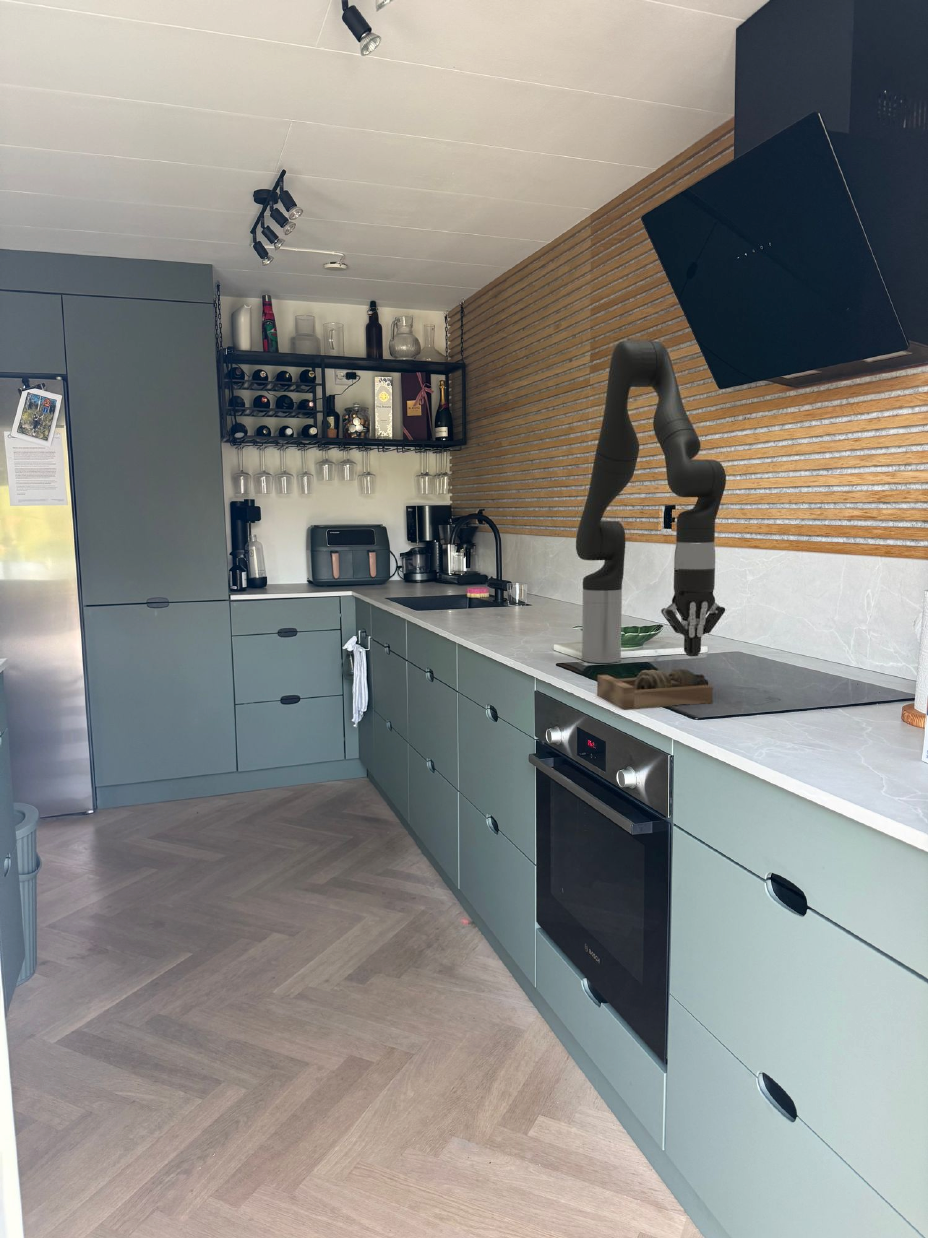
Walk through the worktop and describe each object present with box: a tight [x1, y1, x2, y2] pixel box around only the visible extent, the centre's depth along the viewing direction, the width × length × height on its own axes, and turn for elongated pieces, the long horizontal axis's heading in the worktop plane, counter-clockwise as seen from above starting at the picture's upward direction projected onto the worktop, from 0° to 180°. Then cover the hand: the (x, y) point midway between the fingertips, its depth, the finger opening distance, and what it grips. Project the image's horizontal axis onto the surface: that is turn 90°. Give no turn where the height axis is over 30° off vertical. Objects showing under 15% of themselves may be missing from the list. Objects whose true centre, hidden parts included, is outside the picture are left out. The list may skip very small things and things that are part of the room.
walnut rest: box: [596, 674, 714, 710], centre depth 157 cm, size 12×18×4 cm, turn 105°
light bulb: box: [634, 668, 709, 690], centre depth 157 cm, size 6×6×15 cm
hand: (692, 655), depth 158 cm, fingers closed
